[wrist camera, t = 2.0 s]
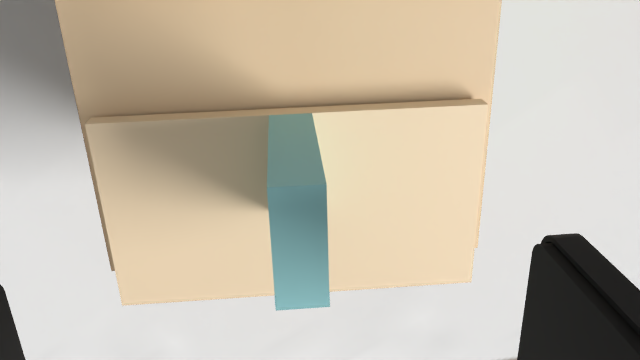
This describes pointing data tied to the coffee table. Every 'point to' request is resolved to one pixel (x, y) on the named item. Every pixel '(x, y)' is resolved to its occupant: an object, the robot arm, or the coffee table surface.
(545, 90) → the coffee table surface
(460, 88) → the carton
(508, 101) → the coffee table surface
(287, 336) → the coffee table surface
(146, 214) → the flap
